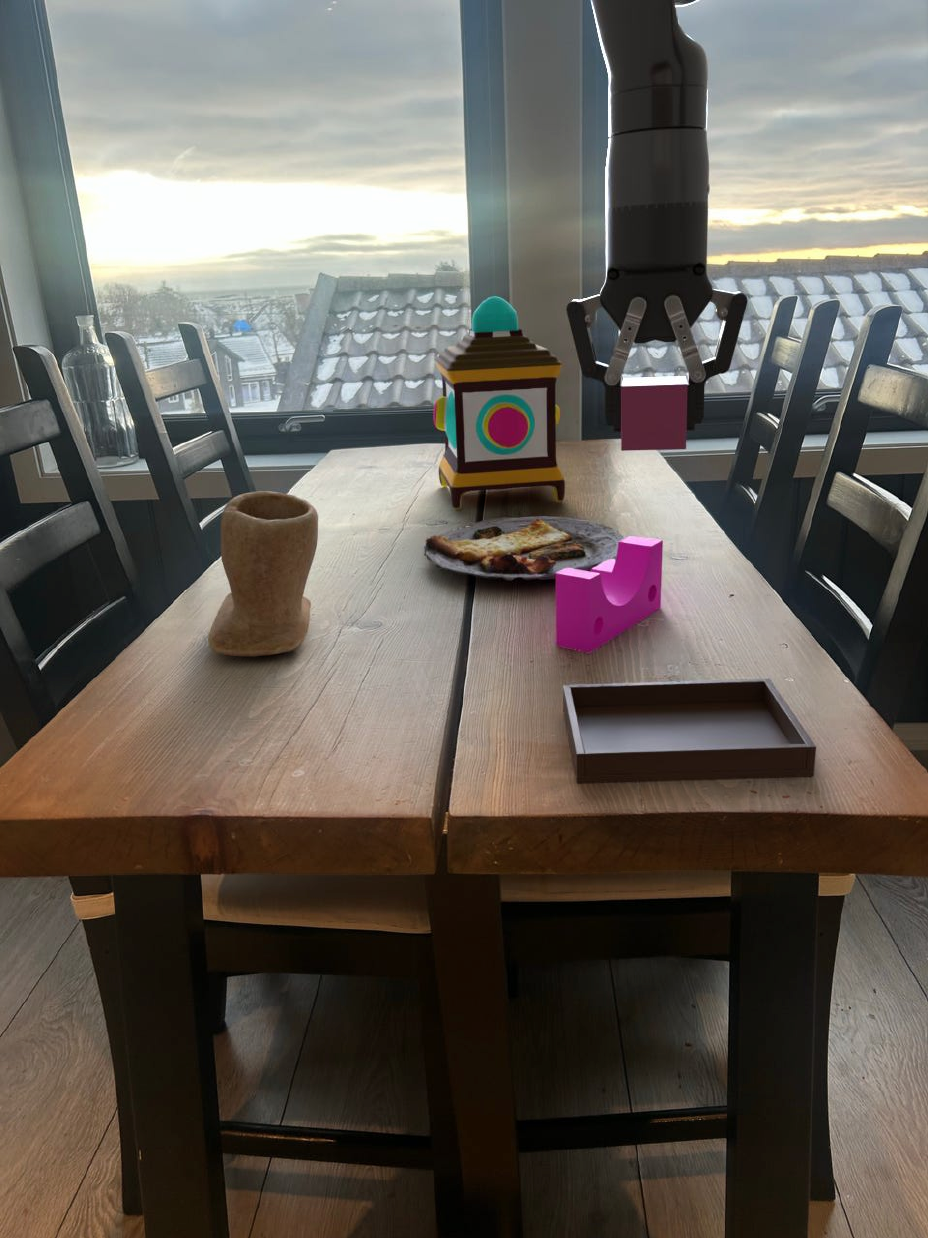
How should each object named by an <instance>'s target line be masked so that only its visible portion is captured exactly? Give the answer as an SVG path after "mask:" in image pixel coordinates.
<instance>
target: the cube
mask: <svg viewBox="0 0 928 1238" xmlns="http://www.w3.org/2000/svg"><path fill="white" fill-rule="evenodd" d="M687 381H688V380H687V376H684V375H682V376H680V375H679V376H678V375H677V376H655V377H654V376H653V377H652V376H651V377H624V378H623V379H622V381H621V383H622V385H621V433H620V450H621V451H622V452H623V451H624V452H625V451H627V452H628V451H630V452H631V451H669V450H670V451H671V450H674V451H675V450H676V451H677V450H678V451H679V450H686V449H687V431H686V429H687Z"/></svg>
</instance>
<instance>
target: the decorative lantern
mask: <svg viewBox="0 0 928 1238" xmlns="http://www.w3.org/2000/svg"><path fill="white" fill-rule="evenodd" d="M434 362H435V365H436V367H437V370H438V371H439V373H440V376H441V384H442V396H440V397H438V398H437V399H436V401H435V403H434V406H433V425H434V426H435V428H436V429H438V430H439V431H443V432H444V453H443V455H442V458H441V460H440V463H439V465H438V479H439V483H440V486H441V487H442V488H446V487H448V488H449V491H450V498H451V499H450V500H451V505H452V507H453V509H454V510H457V511H459V510H460V509H461V508H462V499H463V495H464V494H466V493H468V492H477V491H492V490H507V489H521V488H534V487H535V488H536V487H551V488H552V489H553V497H554V500H555V502H557V503H561V502H563V501H564V498H565V494H566V481H565V478H564V476H563V473H562V470H561V469H560V467H559V465H558V461H557V427H556V426H557V425H558V424H559V423H560V420H561V415H562V414H561V408H560V407H559V405H557V404H556V397H557V396H556V384H557V380H558V377H559V375H560V372H561V371H562V367H563V362H561V361H560V360H559V359H558V357H557V355H554V354H552V353H551V351H550V349H549V348H545V347H543V346H541V345H538V344H536V343H535V342H533V341H530V338H529V337H528V336H526V335H524V334H523V329H521V328H519V318H518V314H517V311H516V309H514V307H513V306H512V305H511V304H510V303H509V302H508V301H506V300H505V299H504V298H502V297H500V296H495V295H492V296H489V297H488V298H486V299H484V300H483V301H481V303H480V304H479V305H478V306H477V308H476V309H475V310H474V312H473V314H472V317H471V328H469V329H468V333H467V334H465V335H463V337H462V339H461V340H459V341H458V342H457V343H456V345H449V346H446V347H445V349H444V350H443V351H440V352H439V354H438V356H436V357H435V358H434Z"/></svg>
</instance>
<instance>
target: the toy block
mask: <svg viewBox="0 0 928 1238" xmlns="http://www.w3.org/2000/svg"><path fill="white" fill-rule="evenodd" d="M624 538H625V539H623V540H621V541H619V542H618V551H617V556H616V560H613V559H609V560H607V561H605V562H602V563H601V564H597V565H596V566H592V567H590V569H589V571H588V570H585V571H584V570H578V569H573V568H565V569H563V570H561V571H559V572H557V573H556V579H555V646H556V647H560V648H564V649H568V650H572V649H576V650H575V651H577V650H580V651H579V652H581V651H584V652H583V653H585V652H588V653H587V654H591V653H592V652H594V651H596V650H597V649H598V648H600V647H602V646H603V645H605V644H607V643H608V642H610V641H611V640H612V639H614V638H616V637H618V636H620V634H622V633H624V632H625V631H627V630H629V629H631V627H633V626H635V625H637V624H639V622H641V621H642V620H644V619H645V618H647V617H649V616H651V615H652V614H653V613H655V612H657V611H658V610H660V609H661V607H662V584H663V583H662V581H663V580H662V579H663V549H664V548H663V547H664V540H663V539H658V538H652V537H651V538H650V537H644V536H637V535H629V536H627V537H624ZM595 649H596V650H595ZM593 650H594V651H593ZM591 651H592V652H591ZM590 652H591V653H590Z"/></svg>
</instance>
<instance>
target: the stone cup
mask: <svg viewBox="0 0 928 1238" xmlns="http://www.w3.org/2000/svg"><path fill="white" fill-rule="evenodd" d="M318 540H319V513H318V511H317V509H316V508H315V506H314V505H313V504H312V503H311V502H310V501H307V500H306V499H303V498H300V497H297V496H296V495H293V494H288V493H284V492H277V491H269V490H268V491H250V492H246V493H242V494H239V495H236V496H234V497H232V498H231V499H230V500H229V501H228V502H227V503H226V504H225V506H224V508H223V510H222V515H221V521H220V550H221V551H220V554H221V555H220V556H221V562H222V567H223V570H224V573H225V575H226V578H227V581H228V584H229V588H230V593H228V594H227V595H226V596H225V598H224V600H223V601H222V602H221V605H220V607H219V609H218V610H217V613H216V616H214V617H215V618H214V620H213V622H212V624H211V627H210V629H209V633H208V637H207V643H208V647H209V648H210V650H212V652H214V653H218V654H221V655H224V656H232V657H260V656H261V657H262V656H271V655H278V654H282V653H283V654H284V653H287V652H291V651H293V650H295V649H296V648H298V647H300V645H301V644H302V643H303V642H304V640H305V637H306V636H307V633H308V631H309V626H310V621H311V609H312V602H311V600H310V599H309V598H308V597H305V596H304V593H305V589H306V586H307V581H308V578H309V574H310V571H311V568H312V565H313V562H314V558H315V556H316V552H317V548H318Z"/></svg>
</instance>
